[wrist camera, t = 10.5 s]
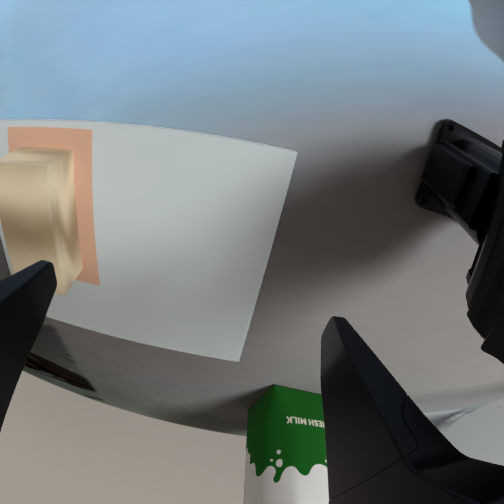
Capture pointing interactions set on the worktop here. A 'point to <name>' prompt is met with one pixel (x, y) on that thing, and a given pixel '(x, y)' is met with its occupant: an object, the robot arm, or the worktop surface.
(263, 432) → the milk carton
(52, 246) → the beige wooden block
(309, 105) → the worktop surface
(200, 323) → the mat
